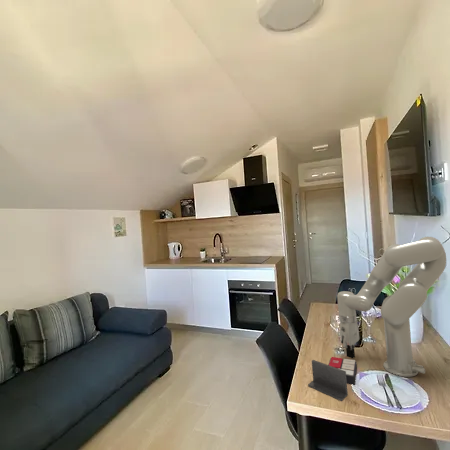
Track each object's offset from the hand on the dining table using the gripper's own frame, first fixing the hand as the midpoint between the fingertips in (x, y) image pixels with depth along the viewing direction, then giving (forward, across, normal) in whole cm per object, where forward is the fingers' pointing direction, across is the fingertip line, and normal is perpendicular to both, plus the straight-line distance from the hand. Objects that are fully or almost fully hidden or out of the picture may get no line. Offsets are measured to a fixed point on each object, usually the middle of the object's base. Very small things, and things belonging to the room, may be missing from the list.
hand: (350, 356), depth 130 cm
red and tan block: (+2, -13, -2) cm, 14 cm away
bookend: (+1, -29, -4) cm, 29 cm away
